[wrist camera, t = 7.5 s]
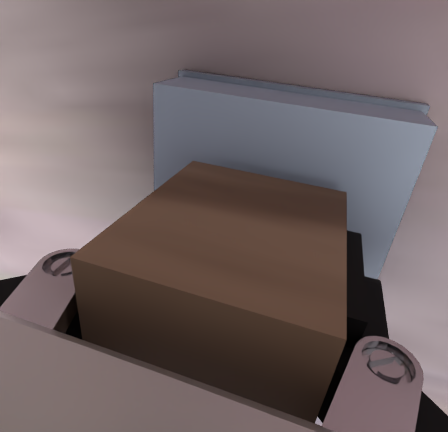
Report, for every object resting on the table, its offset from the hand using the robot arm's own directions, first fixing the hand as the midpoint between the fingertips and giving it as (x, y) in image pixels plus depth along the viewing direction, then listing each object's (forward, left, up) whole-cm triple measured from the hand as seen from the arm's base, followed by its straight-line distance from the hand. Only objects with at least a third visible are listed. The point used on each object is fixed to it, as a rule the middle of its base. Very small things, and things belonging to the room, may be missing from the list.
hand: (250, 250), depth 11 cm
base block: (0, 0, -5) cm, 5 cm away
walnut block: (0, 0, -1) cm, 1 cm away
